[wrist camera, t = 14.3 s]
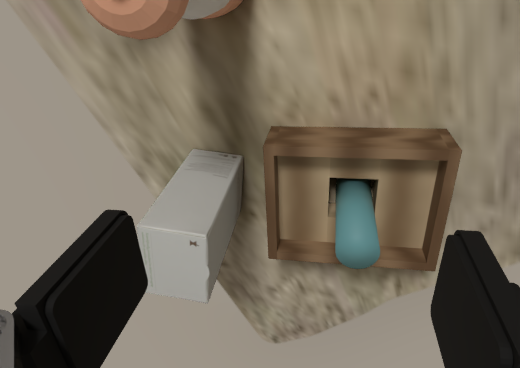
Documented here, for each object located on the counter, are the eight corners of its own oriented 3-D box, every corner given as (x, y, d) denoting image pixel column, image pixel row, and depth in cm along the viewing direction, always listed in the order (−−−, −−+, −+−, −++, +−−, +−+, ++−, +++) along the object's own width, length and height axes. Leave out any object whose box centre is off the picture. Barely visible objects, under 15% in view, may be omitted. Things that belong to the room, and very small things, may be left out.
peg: (371, 171, 42) (382, 235, 32) (368, 200, 44) (377, 270, 34) (336, 170, 43) (336, 232, 33) (335, 198, 45) (334, 267, 34)
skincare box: (193, 146, 45) (132, 221, 31) (248, 154, 44) (209, 234, 30) (193, 205, 49) (139, 294, 35) (243, 214, 48) (208, 307, 35)
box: (446, 128, 39) (462, 150, 34) (424, 240, 45) (435, 271, 40) (271, 126, 42) (263, 146, 37) (275, 230, 48) (268, 258, 44)
